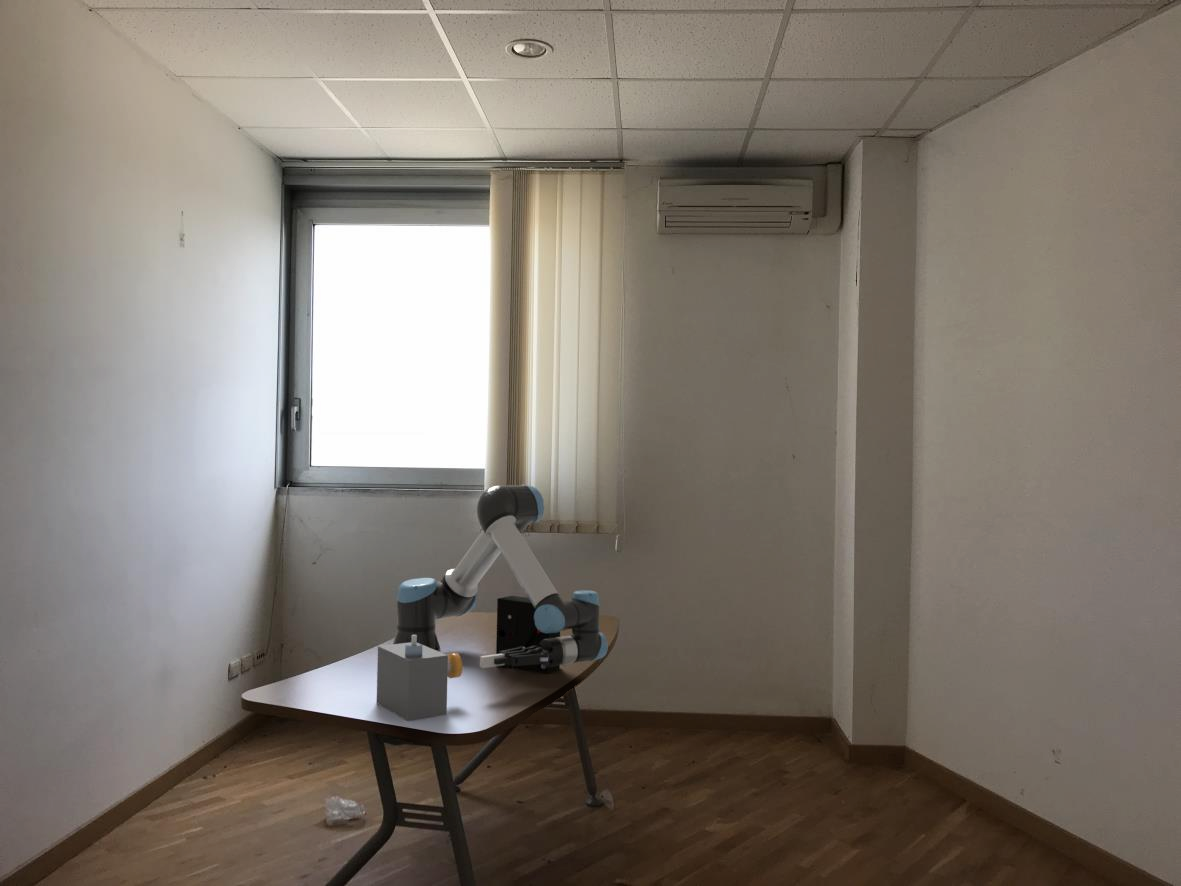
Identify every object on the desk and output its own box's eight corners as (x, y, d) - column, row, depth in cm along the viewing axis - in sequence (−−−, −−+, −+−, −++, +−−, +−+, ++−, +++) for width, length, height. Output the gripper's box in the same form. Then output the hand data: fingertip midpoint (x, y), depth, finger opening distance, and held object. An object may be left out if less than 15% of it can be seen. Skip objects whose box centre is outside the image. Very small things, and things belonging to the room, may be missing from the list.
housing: (376, 702, 216) (378, 646, 216) (413, 696, 222) (415, 641, 222) (407, 721, 201) (409, 660, 202) (446, 714, 207) (447, 655, 208)
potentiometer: (402, 654, 207) (402, 634, 207) (417, 653, 209) (418, 633, 209) (409, 658, 204) (410, 637, 204) (425, 656, 206) (425, 635, 206)
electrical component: (563, 668, 255) (564, 600, 256) (544, 675, 247) (545, 604, 247) (514, 660, 264) (516, 594, 265) (494, 667, 256) (496, 598, 256)
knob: (422, 678, 217) (423, 654, 217) (450, 674, 221) (451, 650, 221) (433, 683, 212) (434, 659, 212) (462, 679, 217) (462, 655, 217)
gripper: (570, 670, 232) (494, 682, 218) (543, 660, 242) (468, 671, 228) (571, 642, 232) (494, 652, 218) (543, 633, 242) (469, 643, 228)
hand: (481, 662), depth 223 cm, fingers closed
